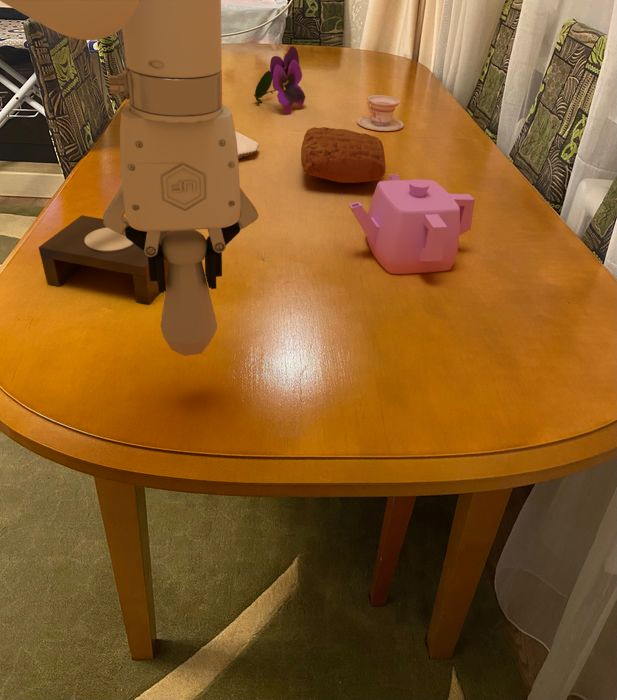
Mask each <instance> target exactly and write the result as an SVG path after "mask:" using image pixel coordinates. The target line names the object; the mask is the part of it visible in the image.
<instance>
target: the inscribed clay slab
mask: <svg viewBox="0 0 617 700" xmlns="http://www.w3.org/2000/svg"><path fill="white" fill-rule="evenodd" d="M384 148H385V147H384V145H383V142H382V140H381V139H379V138H378V137H376V136H374V135H371V134H369V133H368V134H367V133H363V132H362V133H361V132H356V131H353V130H350V129H344V128H333V127H327V126H323V127H313V126H312V127H311V128H309V129H307V130H306V132H305V134H304V136H303V140H302V143H301V148H300V162H301V167H302V170H303V172H304V173H305V174H307V175H309V176H311V177H312V176H313V177H316V178H319V179H324V180H328V181H332V182H337V183H343V184H344V183H345V184H347V183H348V184H352V183H353V184H354V183H355V184H356V183H368V182H374V181H377V180H380V179H382V178H384V176H385V174H386V155H385V149H384Z"/></svg>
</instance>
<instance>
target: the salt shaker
mask: <svg viewBox="0 0 617 700" xmlns="http://www.w3.org/2000/svg"><path fill="white" fill-rule="evenodd" d="M206 239H207V238H206V237H205V235H204V234H202V232H200V231H198V230H178V231H169V232H167V233H166V234H165V235H164V237H163V238H162V242H161V248H162V252H163V257H164V259H165V260H167V261H168V262H169V269H168V276H167V283H166V291H164V298H163V304H162V305H163V306H162V312H161V320H160V329H161V333H162V337H163V339H164V341H165V342H166V344H167V345H168V347H169V349H170V350H171V351H173V352H175V353H177V354H178V355H179V354H180V355H181V356H183V357H187V356H194V355H195V356H196V355H202V354H203V353H204V351H205V350H206V349H207V348H208V346H209V345H210V344H211V343H212V340H213V338H214V336H215V335H216V332H217V330H218V322H217V318H216V314H215V310H214V305H213V301H212V297H211V293H210V288H209V286H208V283H207V279H206V275H205V267H204V265H203V261H204V260H205V256H206V253H207V242H206Z"/></svg>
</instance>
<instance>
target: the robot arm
mask: <svg viewBox="0 0 617 700" xmlns="http://www.w3.org/2000/svg"><path fill="white" fill-rule="evenodd" d="M0 2H2V3H3V4H5V5H7V6H9V7H10V8H12V9H14V10H16V12H19V13H21V14H23V15H24V16H27V17H28V18H30V19H31V20H33V21H35V22H37V23H39V24H40V25H42V26H44V27H46V28H47V29H50V30H52V31H53V32H56V33H58V34H59V35H61V36H62V35H63V36H65V37H67V38H71V39H75V40H79V41H80V40H83V41H96V40H102V39H106V38H108V37H110V36H114V35H115V34H117V33H118V32H119V31H121V30H122V38H123V39H122V40H123V50H124V59H125V69H123V70H122V73H117V75H108V76H107V77H108V85H109V93H110V94H111V95H112V94H113V95H117V94H118V95H119V96H124V97H125V100H129V102H127V103H126V104H124V105H123V106H122V109H121V114H120V124H119V159H120V162H119V163H120V177H121V178H120V179H121V186H120V187H119V189H118V191H117V192H116V194H115V196H114V197H113V199H112V200H111V202H110V203H109V205H108V207H107V208H106V209H105V212H104V213H103V216H102V219H103V224H104V225H105V226H106V227H107V228H109V229H111V230H113V231H115V232H117V233H119V234H122V235H124V236H126V238H127V239H128V240H130V241H131V242H132V243H134V244H135V245H136V246H138V247H139V248H140V249H142V250H143V251H144V253H145V254H146V255H147V256H148V265H149V276H150V281H157V283H158V290H159V294H165V291H166V282H165V269H164V257H163V252H162V248H161V245H160V243H159V240H160V234H161V231H178V230H196V231H198V230H207V232H208V236H207V237H206V238H205V239H206V242H207V253H206V256H205V258H204V272H205V277H206V281H207V285H208V289H211V290H216V289H217V278H220V277H223V253H224V252H225V250H226V248H227V247H226V246H227V245H228V244H229V243H231V241H232V240H233V239H234V238H235V237H237V235H238V234H239V233H240V232H241V230H243V229H245V228H247V227H248V226H249V225H251V224H253V223H255V221H257V220H258V218H259V213H258V211H257V209H256V206H254V203H252V201H251V200H250V199H249V197H248V196H247V195H246V193H245V192H244V191H243V189H242V188H241V183H240V182H241V181H240V165H239V163H240V162H239V159H238V150H237V140H236V133H235V131H236V128H235V122H234V117H233V112H232V111H231V109H229V107H227V106H226V105H225V104H223V69H222V68H223V67H222V66H223V65H222V62H223V61H222V60H223V59H222V0H0ZM124 215H125V216H124Z"/></svg>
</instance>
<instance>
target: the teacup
mask: <svg viewBox="0 0 617 700" xmlns="http://www.w3.org/2000/svg"><path fill="white" fill-rule="evenodd" d="M366 99H367V102H366V104H367V109H368V111H369V113H370V114H371V115H368V114H367V115H363V116H360V117H359V118H357V120H356V122H357V125H359V126H360V127H362V128H365V129H368V130H371V131H379V132H393V131H395V132H396V131H398V130H402V129H404V126H405V123H404V122H403V121H402V120H400V119H398V118H395V117H393V115H394V112H395V110H396V108H397V107H398V106H399V105H400V103H401V99H399V98H396V97H394V96H390V95H385V94H375V95H374V94H373V95H369V96H368V97H367V98H366Z"/></svg>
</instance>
